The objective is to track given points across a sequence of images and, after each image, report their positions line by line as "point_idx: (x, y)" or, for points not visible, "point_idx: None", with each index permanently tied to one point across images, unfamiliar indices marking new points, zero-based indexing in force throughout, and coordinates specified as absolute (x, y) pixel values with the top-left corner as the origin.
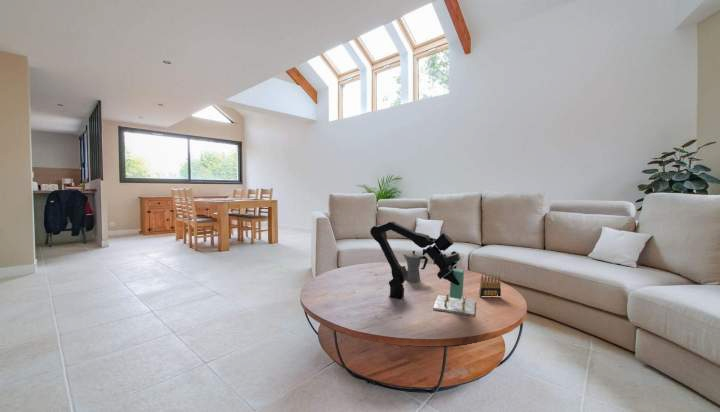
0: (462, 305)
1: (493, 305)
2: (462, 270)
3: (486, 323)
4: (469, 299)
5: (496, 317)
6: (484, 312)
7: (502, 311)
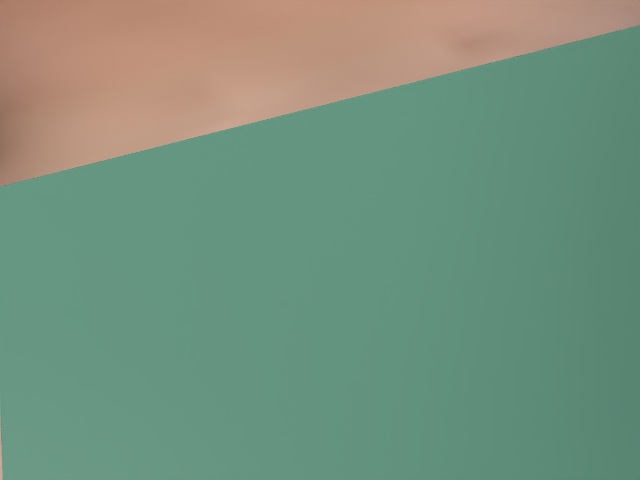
0: None
1: (19, 134)
2: (214, 217)
3: (553, 22)
4: None
5: (328, 9)
6: None
7: (132, 21)
